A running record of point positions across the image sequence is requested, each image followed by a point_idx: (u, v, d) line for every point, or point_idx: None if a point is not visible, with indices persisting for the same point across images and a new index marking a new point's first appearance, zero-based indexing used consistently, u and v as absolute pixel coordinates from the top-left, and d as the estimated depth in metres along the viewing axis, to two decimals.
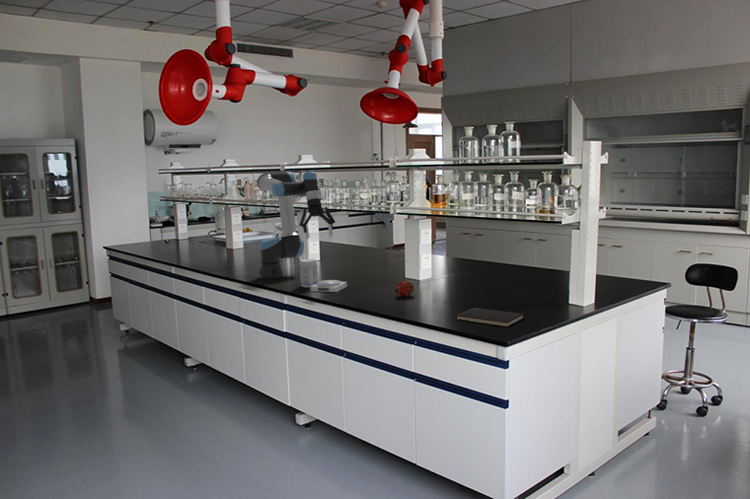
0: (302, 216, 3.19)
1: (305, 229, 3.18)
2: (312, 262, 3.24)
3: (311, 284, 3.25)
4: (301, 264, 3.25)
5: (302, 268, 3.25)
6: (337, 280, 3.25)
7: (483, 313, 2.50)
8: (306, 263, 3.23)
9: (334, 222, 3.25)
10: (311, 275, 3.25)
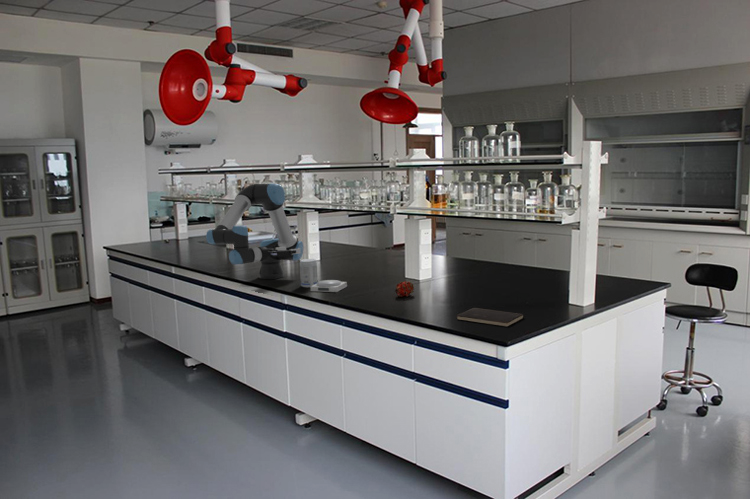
0: None
1: None
2: (312, 262, 3.24)
3: (311, 284, 3.25)
4: (301, 264, 3.25)
5: (302, 268, 3.25)
6: (337, 280, 3.25)
7: (483, 313, 2.50)
8: (306, 263, 3.23)
9: (291, 255, 3.09)
10: (311, 275, 3.25)
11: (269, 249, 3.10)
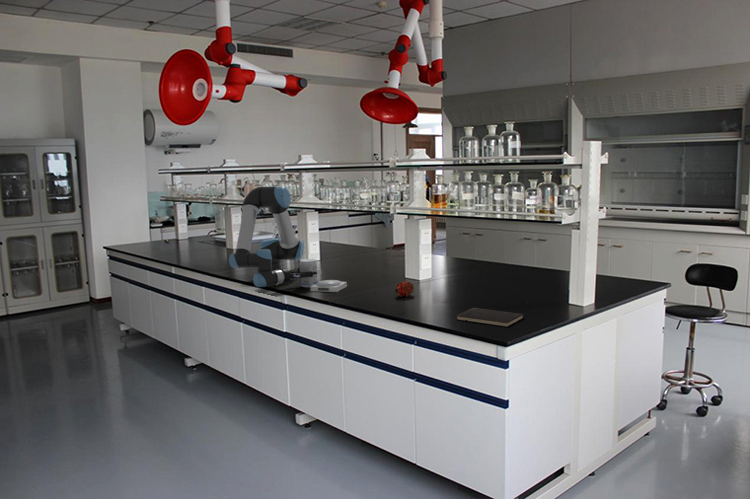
0: None
1: None
2: (312, 262, 3.24)
3: (311, 284, 3.25)
4: (301, 264, 3.25)
5: (302, 268, 3.25)
6: (337, 280, 3.25)
7: (483, 313, 2.50)
8: (306, 263, 3.23)
9: (312, 276, 3.21)
10: None
11: (291, 271, 3.20)
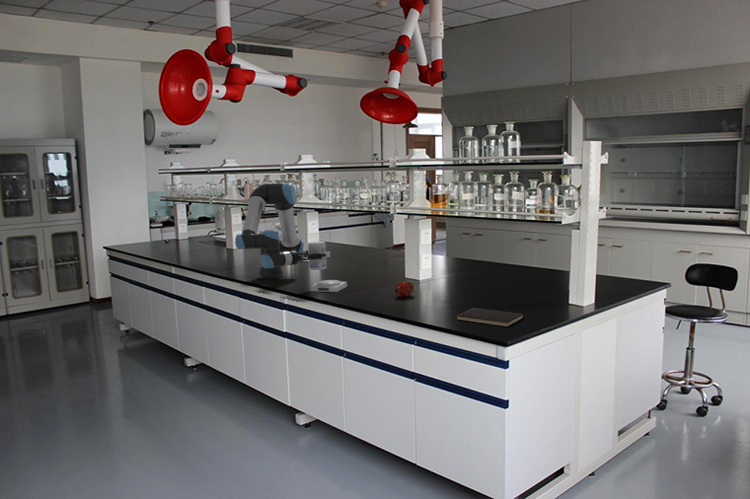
0: None
1: None
2: (321, 244, 3.16)
3: (320, 267, 3.17)
4: (309, 246, 3.17)
5: (311, 251, 3.17)
6: (337, 280, 3.25)
7: (483, 313, 2.50)
8: (315, 245, 3.16)
9: None
10: None
11: (299, 253, 3.12)
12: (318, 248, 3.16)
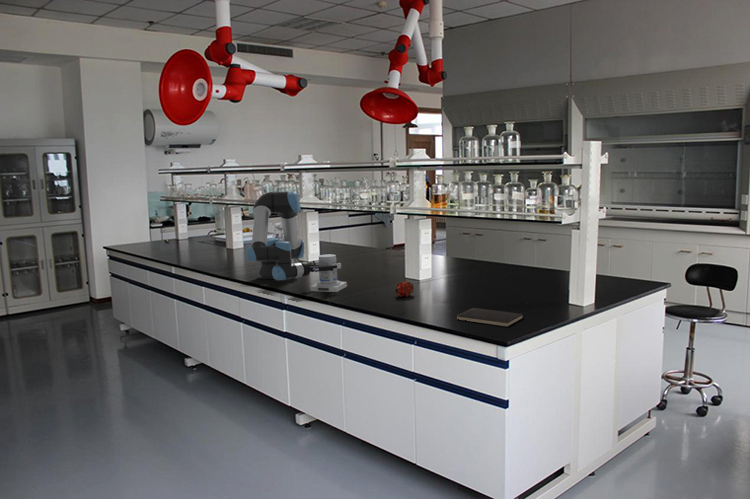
0: None
1: None
2: (332, 257, 3.15)
3: (331, 280, 3.16)
4: (320, 260, 3.15)
5: (321, 264, 3.15)
6: (337, 280, 3.25)
7: (483, 313, 2.50)
8: (326, 258, 3.14)
9: (332, 270, 3.09)
10: (330, 271, 3.15)
11: (310, 264, 3.10)
12: (329, 262, 3.14)
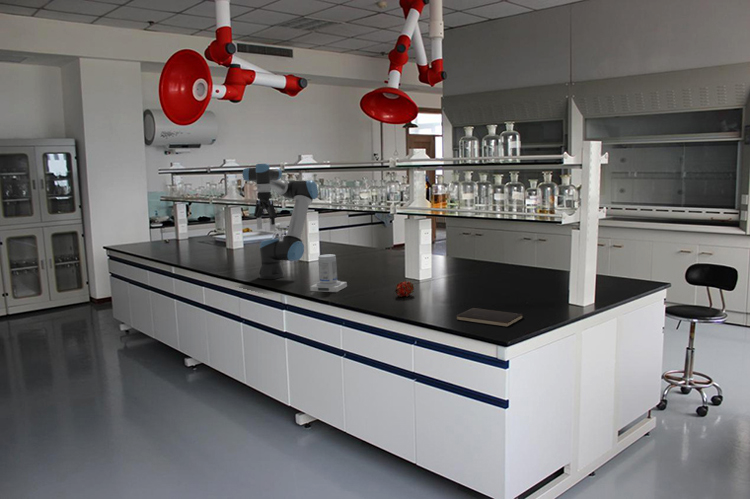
0: None
1: (257, 220, 3.35)
2: (331, 257, 3.15)
3: (330, 280, 3.16)
4: (320, 260, 3.15)
5: (321, 264, 3.15)
6: (337, 280, 3.25)
7: (482, 313, 2.50)
8: (325, 258, 3.14)
9: (272, 217, 3.21)
10: (330, 271, 3.15)
11: None
12: (329, 262, 3.14)
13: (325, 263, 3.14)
